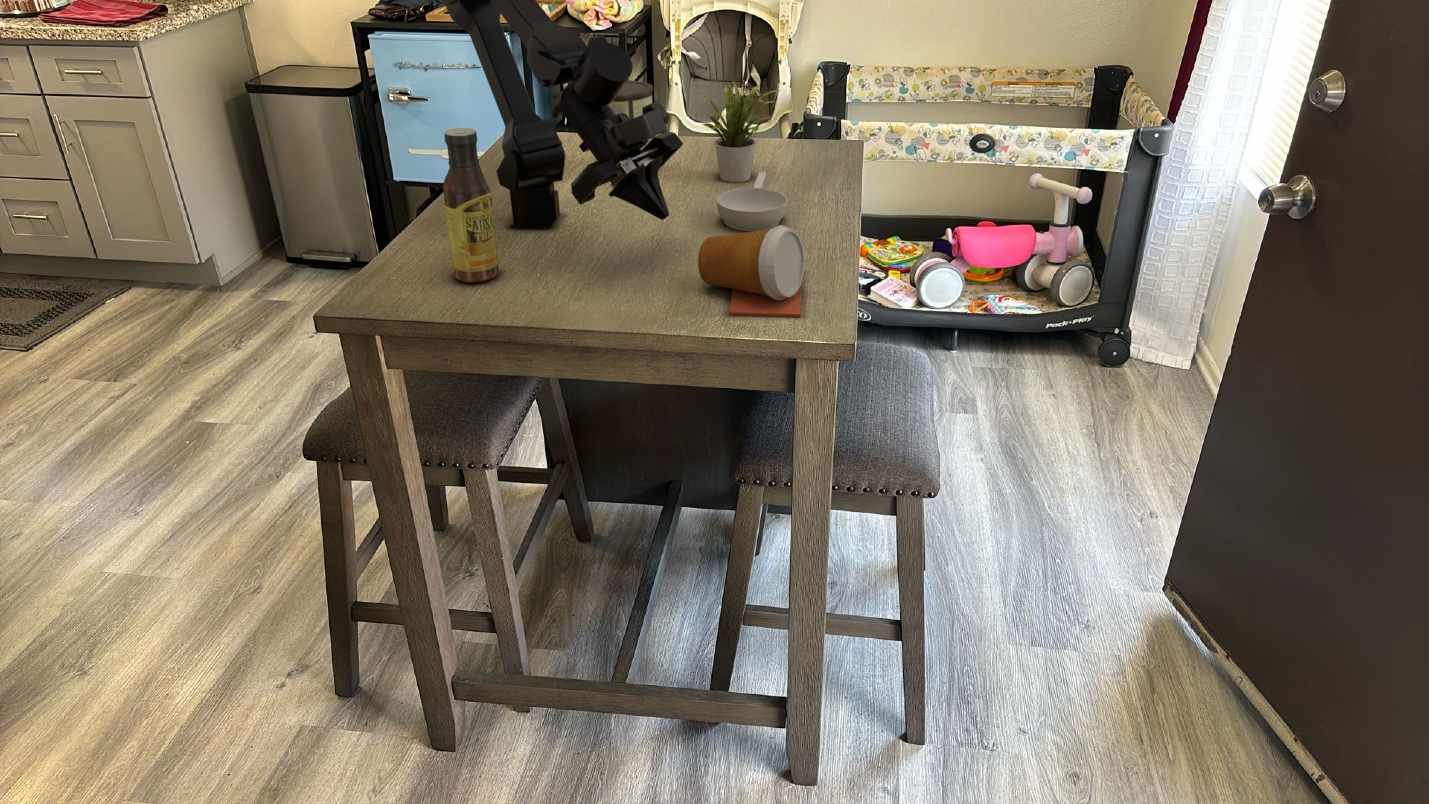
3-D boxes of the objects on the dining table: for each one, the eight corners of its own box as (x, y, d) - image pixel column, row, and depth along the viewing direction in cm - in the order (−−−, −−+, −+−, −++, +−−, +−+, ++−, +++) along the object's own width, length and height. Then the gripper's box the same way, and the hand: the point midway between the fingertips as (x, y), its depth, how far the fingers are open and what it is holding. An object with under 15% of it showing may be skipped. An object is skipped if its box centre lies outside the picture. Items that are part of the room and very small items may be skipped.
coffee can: (609, 156, 182) (604, 78, 175) (662, 160, 180) (660, 81, 173) (590, 174, 174) (584, 92, 167) (646, 178, 172) (643, 95, 165)
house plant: (799, 179, 170) (803, 83, 162) (739, 197, 163) (740, 97, 154) (744, 161, 180) (745, 68, 171) (685, 176, 172) (683, 81, 164)
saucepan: (711, 231, 150) (711, 207, 148) (730, 192, 165) (730, 170, 163) (782, 235, 148) (782, 211, 146) (794, 196, 163) (795, 173, 161)
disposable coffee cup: (709, 310, 133) (788, 316, 127) (682, 262, 126) (764, 265, 120) (735, 259, 137) (813, 261, 131) (710, 209, 130) (791, 209, 124)
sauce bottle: (477, 288, 132) (456, 141, 122) (444, 279, 135) (421, 134, 125) (511, 272, 137) (493, 129, 127) (477, 263, 140) (458, 122, 130)
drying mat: (729, 315, 125) (729, 312, 125) (736, 270, 137) (736, 268, 137) (800, 317, 124) (800, 314, 124) (801, 272, 136) (801, 269, 136)
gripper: (582, 101, 120) (659, 205, 121) (669, 71, 133) (738, 164, 134) (539, 154, 128) (611, 252, 128) (626, 121, 141) (691, 209, 142)
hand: (665, 217), depth 133 cm, fingers closed
